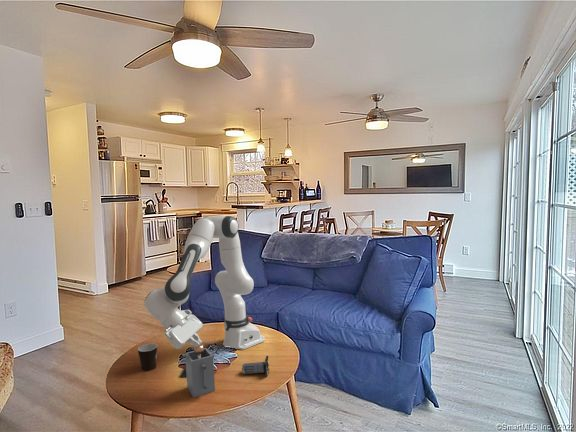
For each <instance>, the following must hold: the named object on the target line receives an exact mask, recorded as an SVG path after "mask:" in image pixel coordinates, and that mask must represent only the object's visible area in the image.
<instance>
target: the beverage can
mask: <svg viewBox="0 0 576 432" xmlns="http://www.w3.org/2000/svg"><path fill="white" fill-rule="evenodd" d="M268 361H269V356H268V355H266V356H265V359H264V361H257V362H245V363H244V364H242V367H241V372H242V374H244V375H252V374H253V375H254V374H261V373H263V374H264V375H265V378H267V377H268V374H270V368H269V367H270V365H269V362H268Z"/></svg>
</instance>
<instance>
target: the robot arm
mask: <svg viewBox="0 0 576 432" xmlns="http://www.w3.org/2000/svg"><path fill="white" fill-rule="evenodd" d="M239 225H240V224H239V222H238V220H237V219H236V217H234V216H231V215H213V216H203V217H201V218H199V219H198V220H196V221H195V223H194V225H192V227H191V229H190V231H189V234H188V235H187V238H186V240H185V243H184V248H183V251H184V252H183V256H182V258H181V261H180V262H179V265H178V267H177V270H176V271H175V272H174V274H173V275H172V276H171V277H170V278H169V279H167V280H166V282H165V285H164V287H161V288H160V287H159V288H154V289H152V290H151V291H150V292H149V293H148V294H147V295H146V297H145V299H144V302H143V303H144V307H145V309H146V310H147V311H148V312H149V313H150V315H152V317H153V318H155V319H157V320H158V322H160V324H161V326H163V328H165V330H164V336H165V337H166V339H167V341H168V342H169V343H170V344H171V346H172V347H173V348H174V349H176V350H180V349H181V348H182V347H183V346H184V345H185V344H187V342H188V343H189V345H190V344H191V345H193V346H196V347H198V346H199V345H200V344H203V341H202V340H201V339H200V336H199V334H198V332H199V331H200V330H202V328H203V327H204V325H203V322H202V321H201V320H200V319H199V318H198V317H197V316H196V315H195V314H192V313H193V312H192V311H191V310H190V309H185V310H180V308H179V307H181V306H182V305H184V303H186V302H187V301H188V299H189V297H190V293H191V289H192V285H191V284H192V283H191V279H192V276H193V273H194V270H195V267H196V266H197V263H198V261H199V260H200V259H201V260H202V259H203V258H204V257H205V256H206V255H207V254H208V251H209V249H210V247H211V244H212V242H213V239H218V246H219V247H218V248H219V258H220V263H221V264H222V266H223V267H224V268H225V270H220V271H219V272H217V274H215V277H214V284H215V286H216V287H217V289H218V290H219V292H220V295H221V298H222V302H223V305H224V307H223V308H224V318H223V320H224V322H223V326H224V327H223V328H224V338H223V342H222V345H224V346H230V347H233V348H235V349H234V350H241V351H242V350H245V349H249V348H251V347H253V346H255V345H258V344H260V343H264V342H265V341H266V340H265V339H266V338H265V336H264V335H263V334H261V331H260V329H259V327H257V326H256V325H254V324H253V323H251V322H253V317H250V316H248V315H247V314H246V302H245V300H244V299H243V297H242V296H244V295H249V294H251V293H252V292H253V290H254V286H255V282H254V279H253V277H251V276H250V274H249V272H248V271H247V269H246V267H245V264H244V260H243V255H242V248H241V247H242V246H241V240H240V237H239ZM224 346H223V347H224Z"/></svg>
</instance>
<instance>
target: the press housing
mask: <svg viewBox="0 0 576 432" xmlns="http://www.w3.org/2000/svg"><path fill="white" fill-rule="evenodd" d="M203 351H204V353H203V354H201V358H200V359H198V355H196V354H195V351H194V350H192V351H189V352H186V353H185V355H184V356H185V365H186V375H187V377H186V388H187V390H188V391H189V394H190V395H191V396H192V398H197V397H201V396H203V395H207V394H209V393H213V392H215V391H216V386H215V384H216V383H215V381H216V380H215V365H214V364H215V362H214V360H215V359H214V355H213V354H212V352H211V351H210V350H209V349H208V348H207V347H203Z"/></svg>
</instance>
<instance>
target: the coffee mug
mask: <svg viewBox="0 0 576 432" xmlns="http://www.w3.org/2000/svg"><path fill="white" fill-rule="evenodd" d="M137 353H138V357H139V362H140V368H141V369H140V370H141V371H142V370H143V372H151V371H153V370H155V369H156V367H157V356H158V344H157V343H154V342H151V343H145V344H142V345H140V346H138V348H137Z"/></svg>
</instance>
